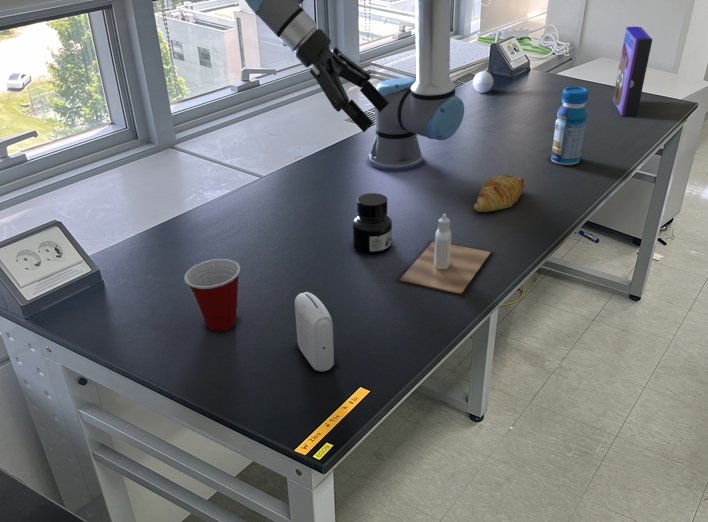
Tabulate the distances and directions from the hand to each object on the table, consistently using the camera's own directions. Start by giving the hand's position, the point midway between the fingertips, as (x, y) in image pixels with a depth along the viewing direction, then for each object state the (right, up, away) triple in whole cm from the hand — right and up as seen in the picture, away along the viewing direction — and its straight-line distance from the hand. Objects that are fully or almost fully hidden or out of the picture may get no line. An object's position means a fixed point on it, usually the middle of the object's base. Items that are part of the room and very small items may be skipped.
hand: (377, 117), depth 155 cm
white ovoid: (+46, +45, +110) cm, 127 cm away
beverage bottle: (+57, +5, +54) cm, 79 cm away
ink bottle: (0, -26, +14) cm, 29 cm away
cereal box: (+89, +33, +90) cm, 130 cm away
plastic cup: (-32, -45, -10) cm, 56 cm away
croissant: (+33, -11, +32) cm, 48 cm away
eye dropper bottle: (+15, -31, +5) cm, 35 cm away
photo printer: (-13, -52, -21) cm, 57 cm away
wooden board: (+16, -31, +5) cm, 35 cm away
